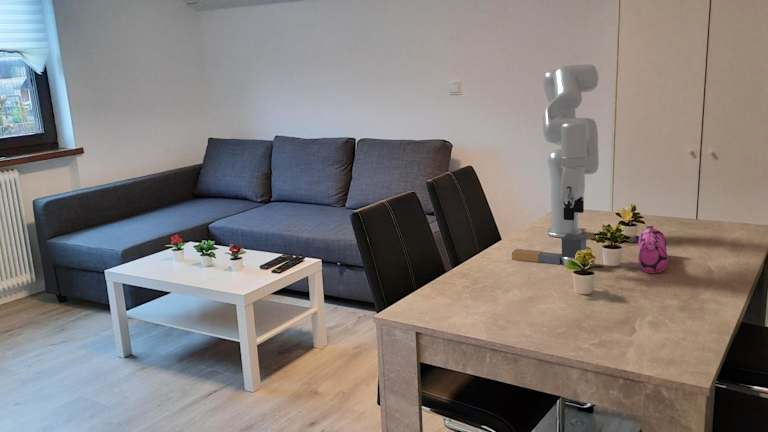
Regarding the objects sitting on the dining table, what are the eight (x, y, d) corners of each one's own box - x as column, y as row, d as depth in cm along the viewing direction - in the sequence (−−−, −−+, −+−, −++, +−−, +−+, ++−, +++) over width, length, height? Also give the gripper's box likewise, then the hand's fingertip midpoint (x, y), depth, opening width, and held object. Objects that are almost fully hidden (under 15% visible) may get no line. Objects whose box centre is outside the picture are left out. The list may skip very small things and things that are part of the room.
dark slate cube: (567, 251, 213) (567, 233, 211) (586, 253, 210) (586, 235, 208) (561, 256, 208) (561, 238, 206) (580, 258, 205) (580, 240, 203)
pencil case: (633, 254, 216) (634, 224, 214) (665, 254, 213) (666, 224, 211) (636, 274, 196) (636, 242, 194) (671, 275, 193) (672, 242, 191)
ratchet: (510, 261, 217) (509, 240, 215) (518, 254, 223) (518, 234, 221) (582, 268, 204) (583, 247, 203) (589, 261, 210) (589, 240, 209)
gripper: (570, 157, 211) (570, 208, 215) (552, 166, 197) (553, 222, 201) (593, 157, 207) (593, 210, 211) (577, 167, 193) (577, 224, 197)
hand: (573, 216), depth 206 cm, fingers open, 9 cm apart
